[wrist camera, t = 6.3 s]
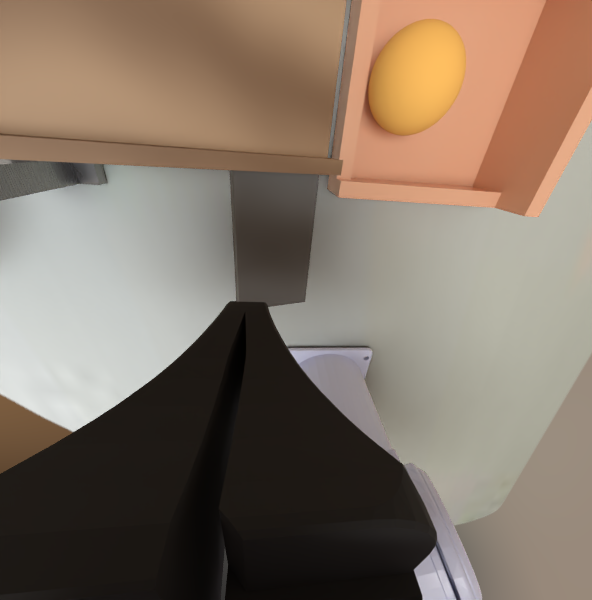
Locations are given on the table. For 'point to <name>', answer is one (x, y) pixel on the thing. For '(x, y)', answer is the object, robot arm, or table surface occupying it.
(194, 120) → the tipping chute
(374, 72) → the ball
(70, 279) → the table surface
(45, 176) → the pivot stand
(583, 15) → the tray
